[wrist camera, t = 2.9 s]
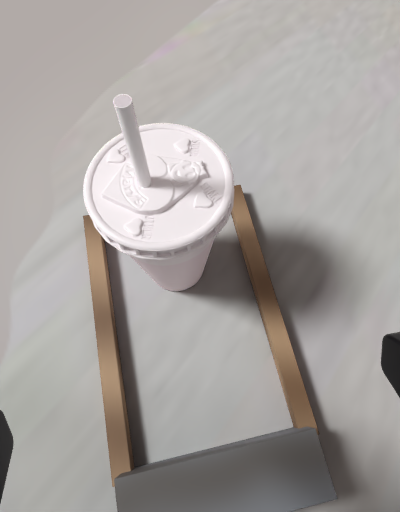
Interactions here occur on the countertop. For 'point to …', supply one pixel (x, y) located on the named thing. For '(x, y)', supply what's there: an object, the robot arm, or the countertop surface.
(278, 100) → the countertop surface
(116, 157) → the smoothie
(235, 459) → the guide track
